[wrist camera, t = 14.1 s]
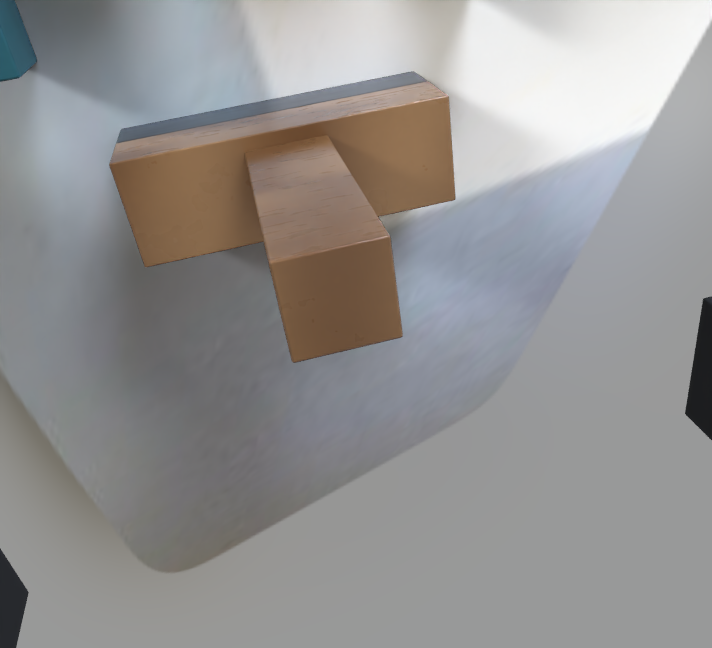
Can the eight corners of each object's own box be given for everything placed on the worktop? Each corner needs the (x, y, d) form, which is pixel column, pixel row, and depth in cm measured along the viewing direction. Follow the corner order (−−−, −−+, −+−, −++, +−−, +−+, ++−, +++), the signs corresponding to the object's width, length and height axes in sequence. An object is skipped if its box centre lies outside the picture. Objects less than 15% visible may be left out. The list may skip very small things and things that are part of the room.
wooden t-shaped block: (151, 222, 29) (124, 420, 17) (120, 128, 27) (67, 286, 15) (422, 164, 30) (563, 315, 19) (414, 70, 28) (567, 177, 16)
